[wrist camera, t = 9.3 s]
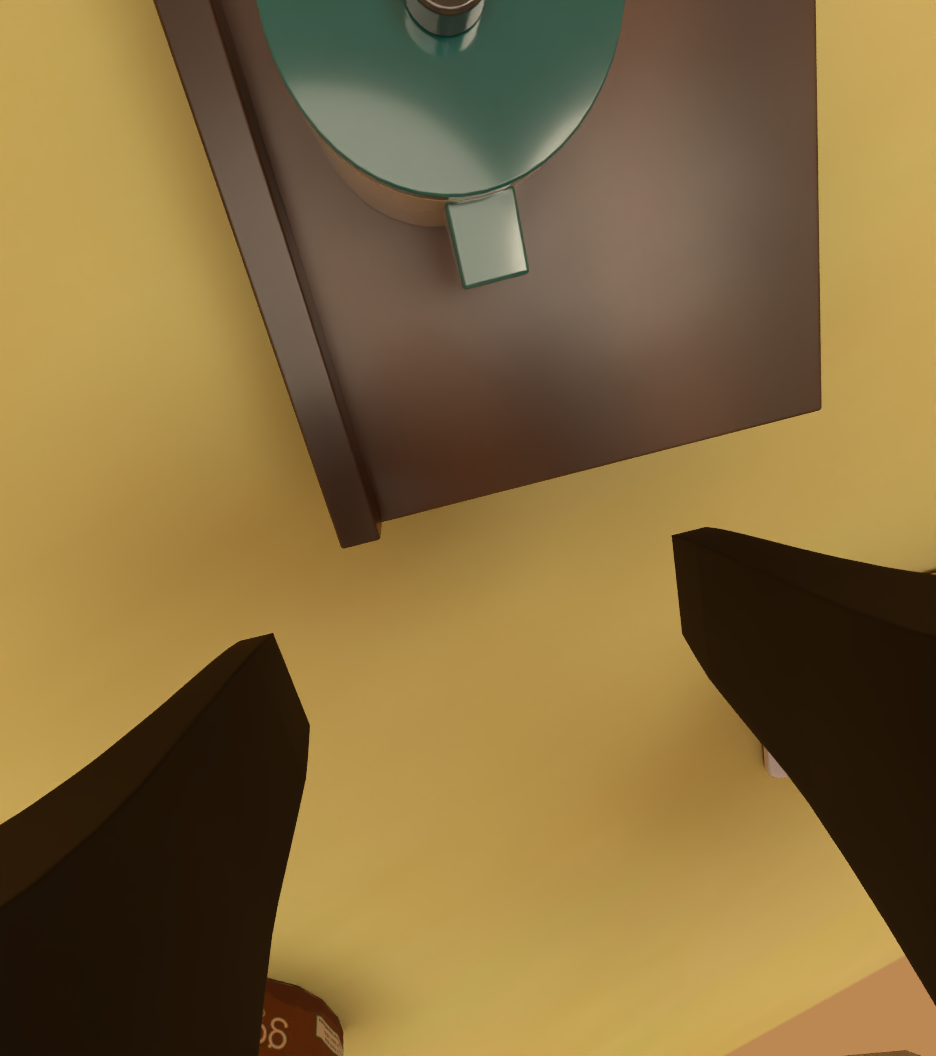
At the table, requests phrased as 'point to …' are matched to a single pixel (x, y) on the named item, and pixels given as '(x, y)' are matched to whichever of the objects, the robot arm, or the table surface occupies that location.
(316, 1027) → the food container
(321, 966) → the table surface
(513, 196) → the pot
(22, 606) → the table surface
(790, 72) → the shelf
